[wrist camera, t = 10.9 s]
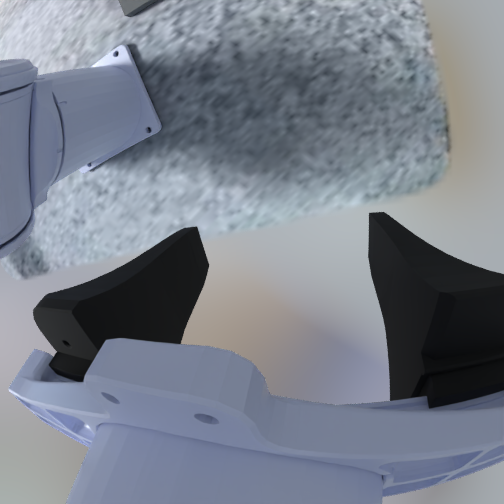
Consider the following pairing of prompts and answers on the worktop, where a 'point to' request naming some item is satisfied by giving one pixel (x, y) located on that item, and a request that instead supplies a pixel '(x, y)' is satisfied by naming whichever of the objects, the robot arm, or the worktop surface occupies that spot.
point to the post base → (134, 6)
